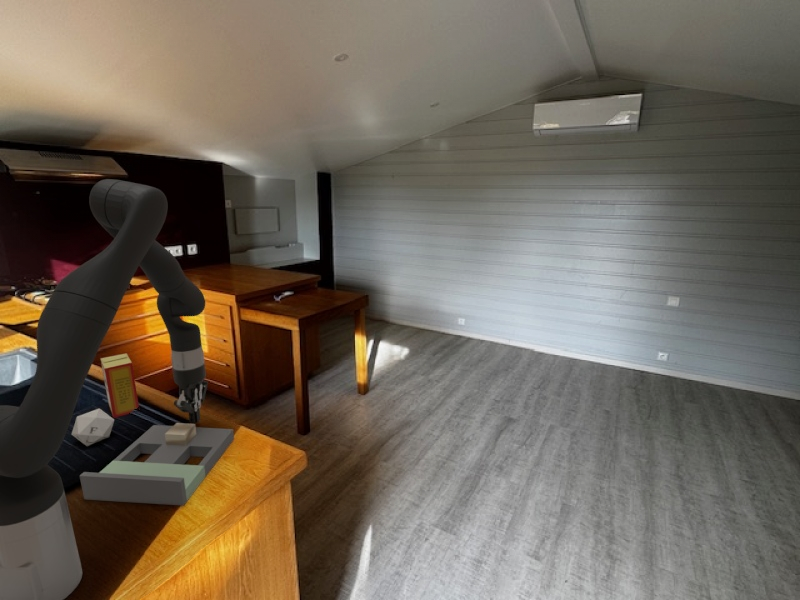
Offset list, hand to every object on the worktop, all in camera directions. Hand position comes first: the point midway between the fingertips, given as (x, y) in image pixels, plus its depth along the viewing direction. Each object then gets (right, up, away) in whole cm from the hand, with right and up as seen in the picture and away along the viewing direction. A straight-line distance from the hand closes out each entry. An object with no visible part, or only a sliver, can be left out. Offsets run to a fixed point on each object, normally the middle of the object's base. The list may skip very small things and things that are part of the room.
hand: (195, 421), depth 110 cm
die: (-25, -4, -2) cm, 26 cm away
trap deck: (-1, -7, -12) cm, 14 cm away
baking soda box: (-29, 0, +13) cm, 31 cm away
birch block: (0, -3, -6) cm, 7 cm away
